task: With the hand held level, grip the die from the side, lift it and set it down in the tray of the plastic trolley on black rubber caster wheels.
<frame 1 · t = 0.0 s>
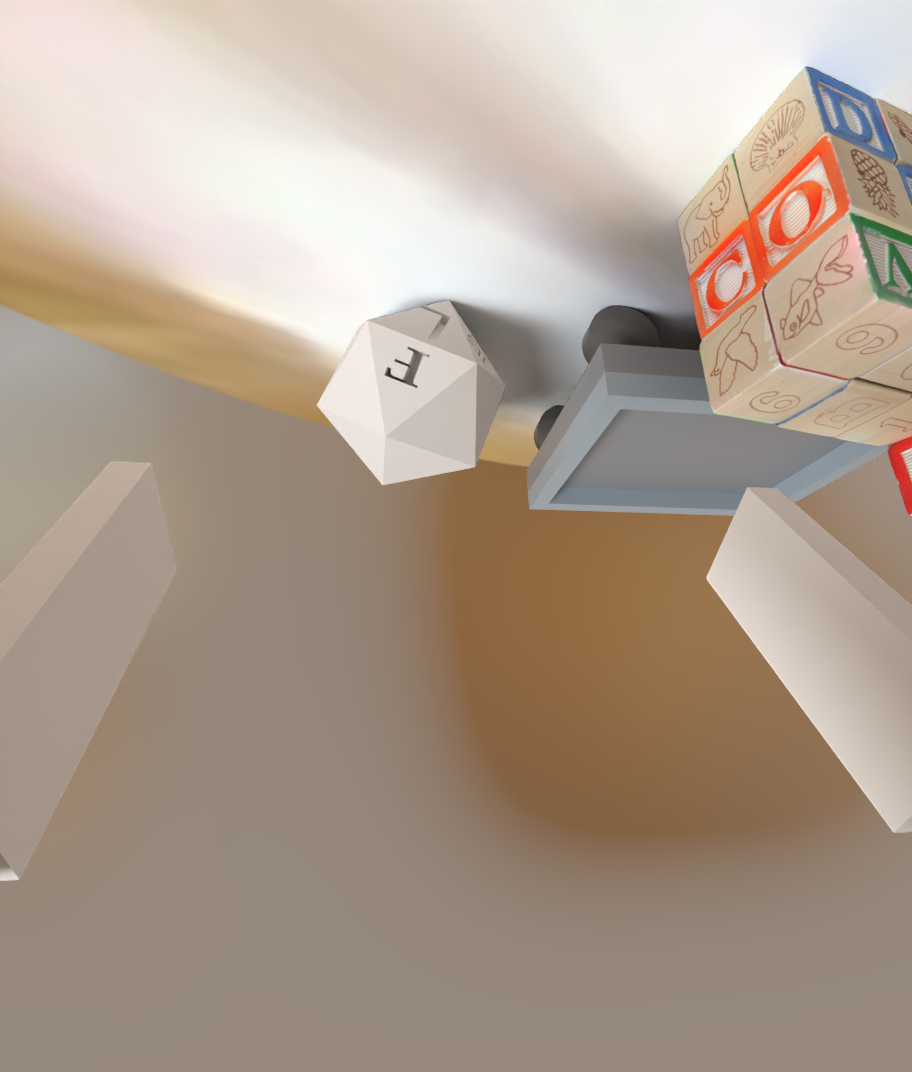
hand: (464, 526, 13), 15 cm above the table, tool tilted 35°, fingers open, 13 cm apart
trolley: (689, 376, 33), on the table
die: (414, 329, 29), on the table
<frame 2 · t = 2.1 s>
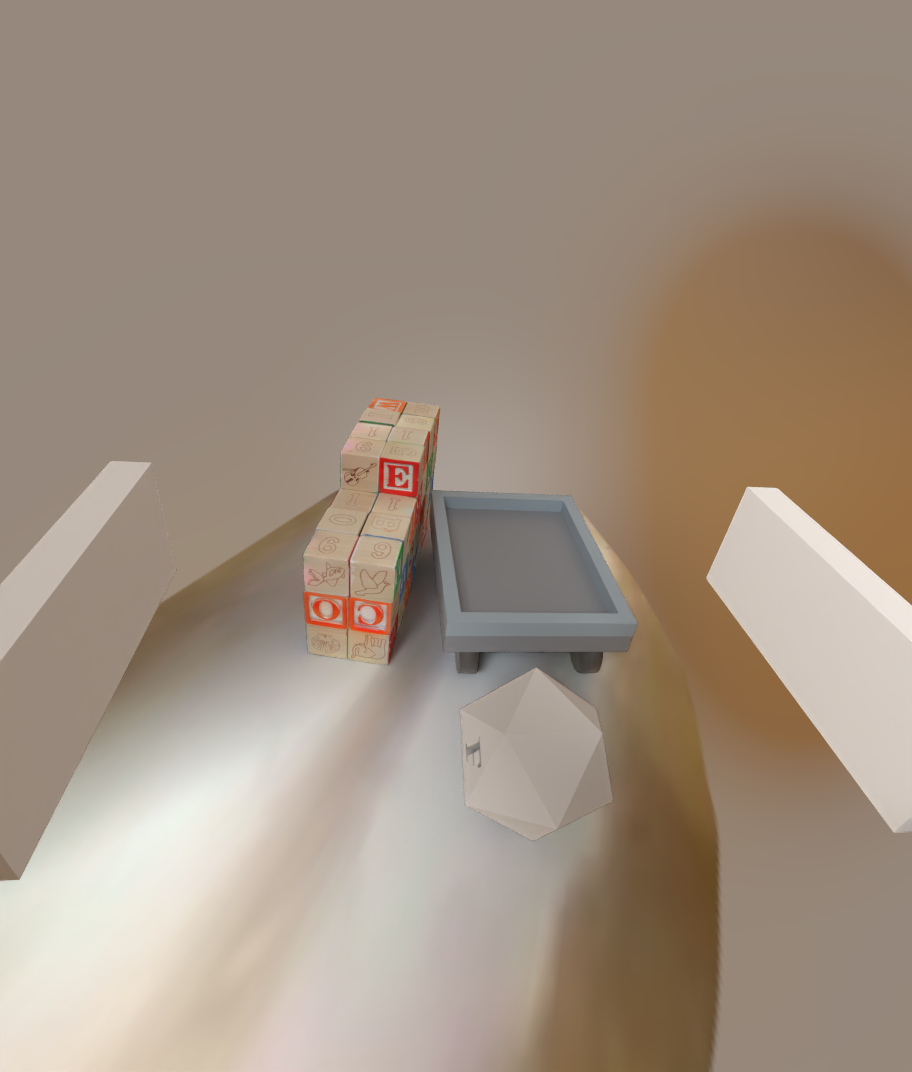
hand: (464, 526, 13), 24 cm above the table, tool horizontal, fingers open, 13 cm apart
trolley: (508, 606, 47), on the table
die: (522, 793, 33), on the table
stack of blocks: (379, 575, 49), on the table
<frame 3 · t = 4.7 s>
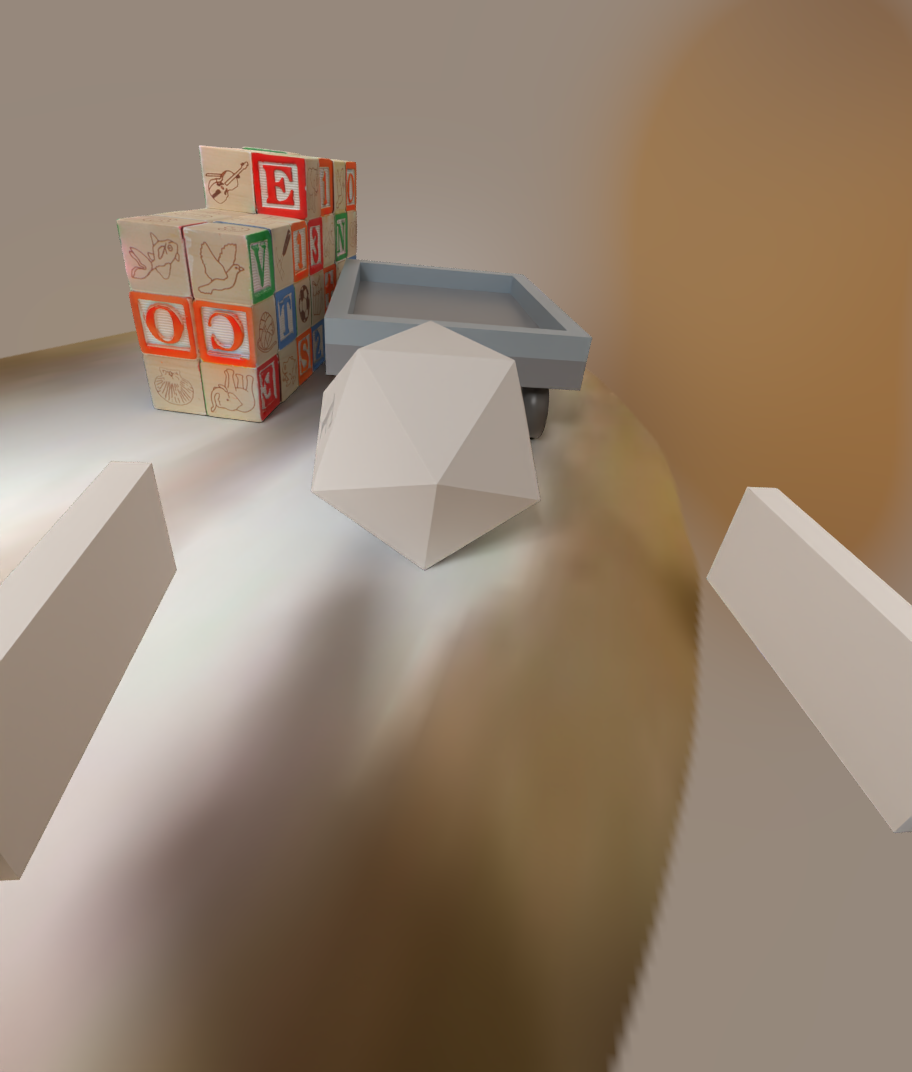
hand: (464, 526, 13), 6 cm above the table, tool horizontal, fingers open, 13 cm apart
trolley: (438, 390, 37), on the table
die: (420, 531, 23), on the table
stack of blocks: (278, 365, 39), on the table
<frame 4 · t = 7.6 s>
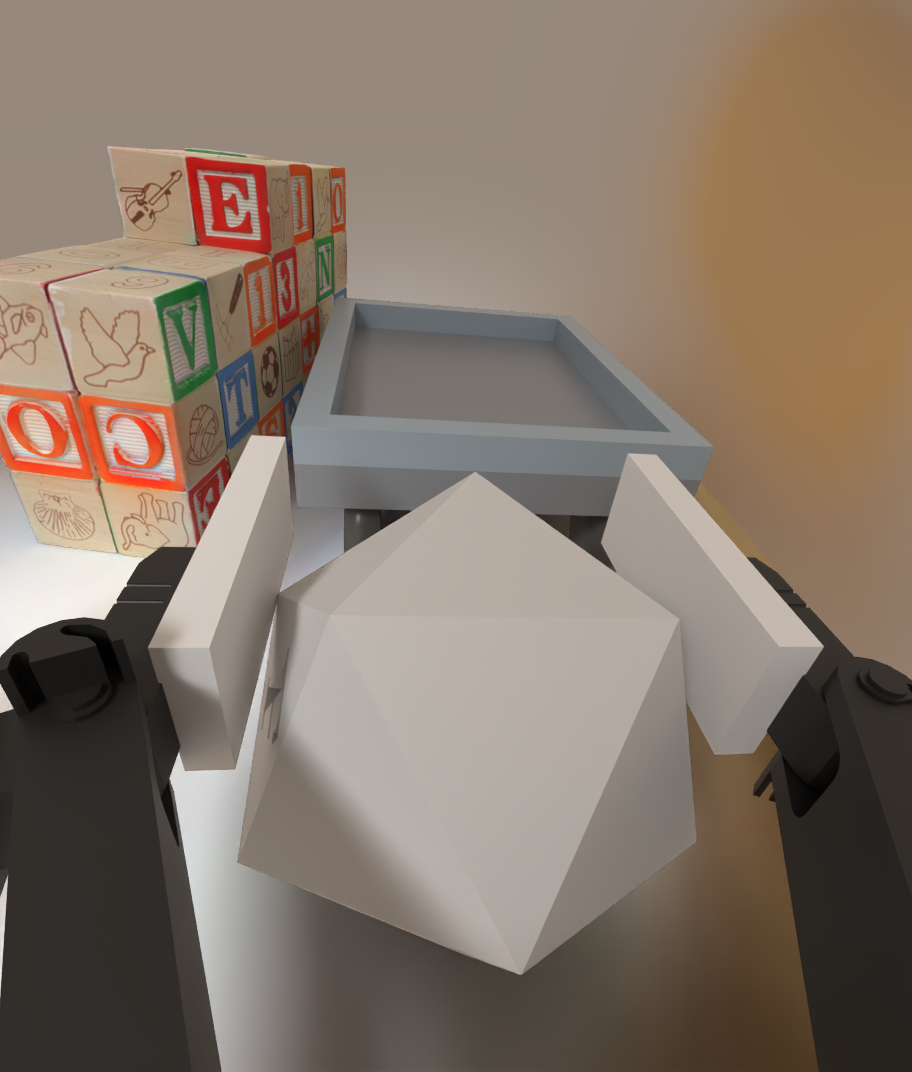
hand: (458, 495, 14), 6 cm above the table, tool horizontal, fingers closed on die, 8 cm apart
trolley: (462, 480, 27), on the table
die: (452, 815, 13), on the table, touching gripper
stack of blocks: (240, 442, 29), on the table
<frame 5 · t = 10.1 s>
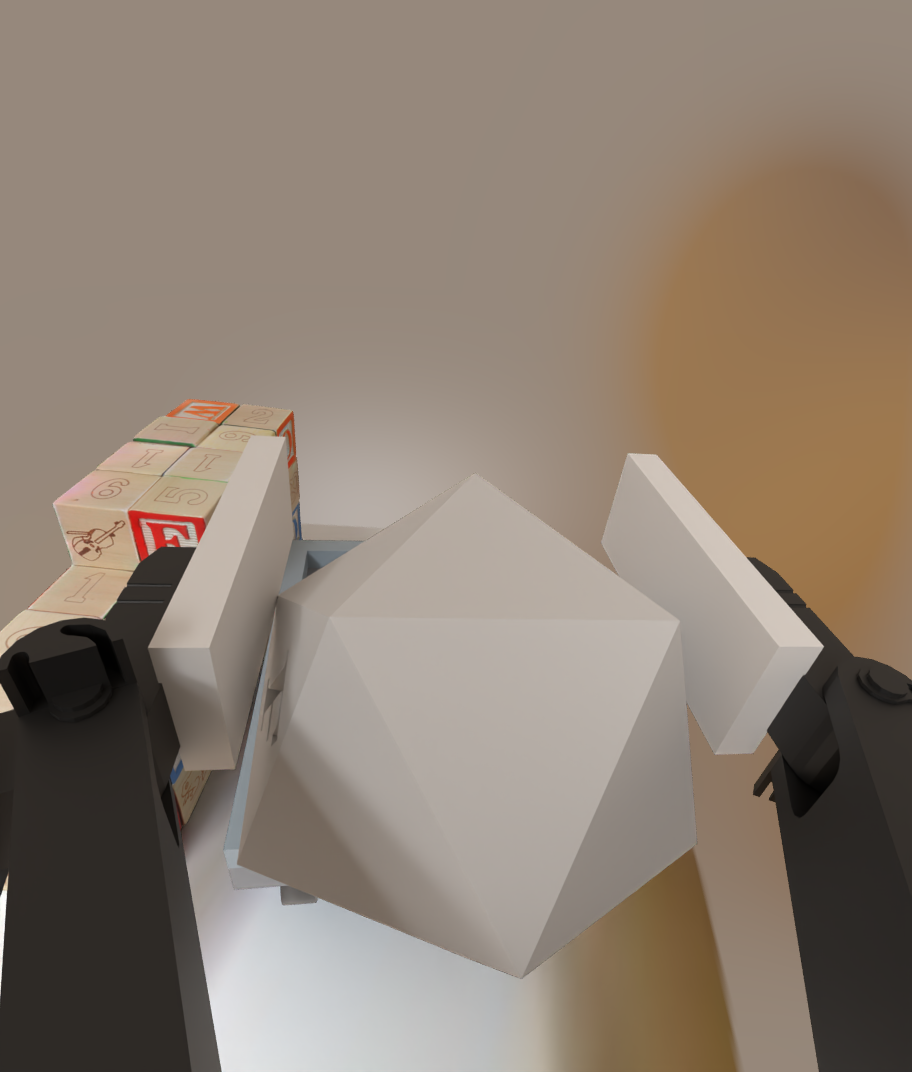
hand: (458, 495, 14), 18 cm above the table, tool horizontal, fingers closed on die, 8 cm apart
trolley: (407, 732, 29), on the table
die: (451, 817, 13), point 12 cm above the table, touching gripper
stack of blocks: (194, 688, 30), on the table
when the fingers open (12 cm above the table, at t = 12.8 s): die drops 1 cm, resting on trolley.
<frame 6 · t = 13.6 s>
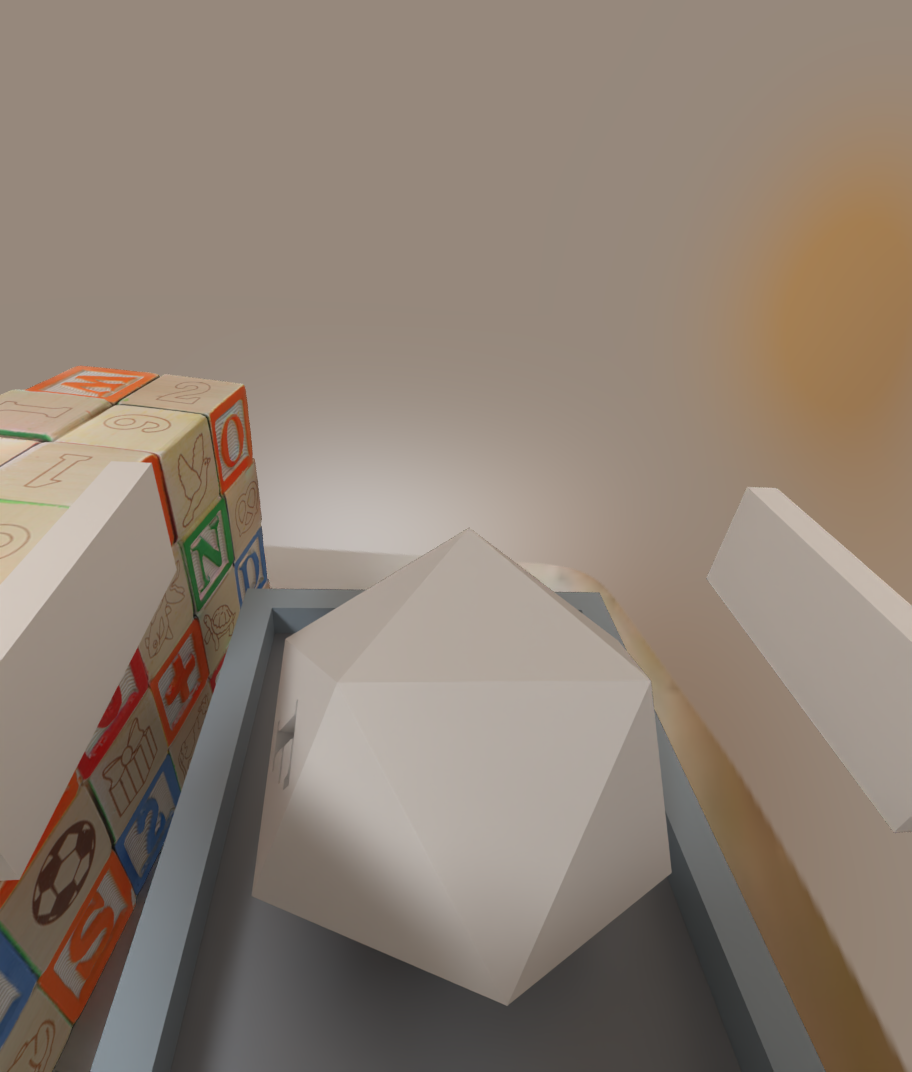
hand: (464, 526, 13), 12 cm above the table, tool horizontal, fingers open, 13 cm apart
trolley: (432, 925, 17), on the table
die: (447, 841, 14), point 5 cm above the table, touching trolley
stack of blocks: (75, 841, 18), on the table
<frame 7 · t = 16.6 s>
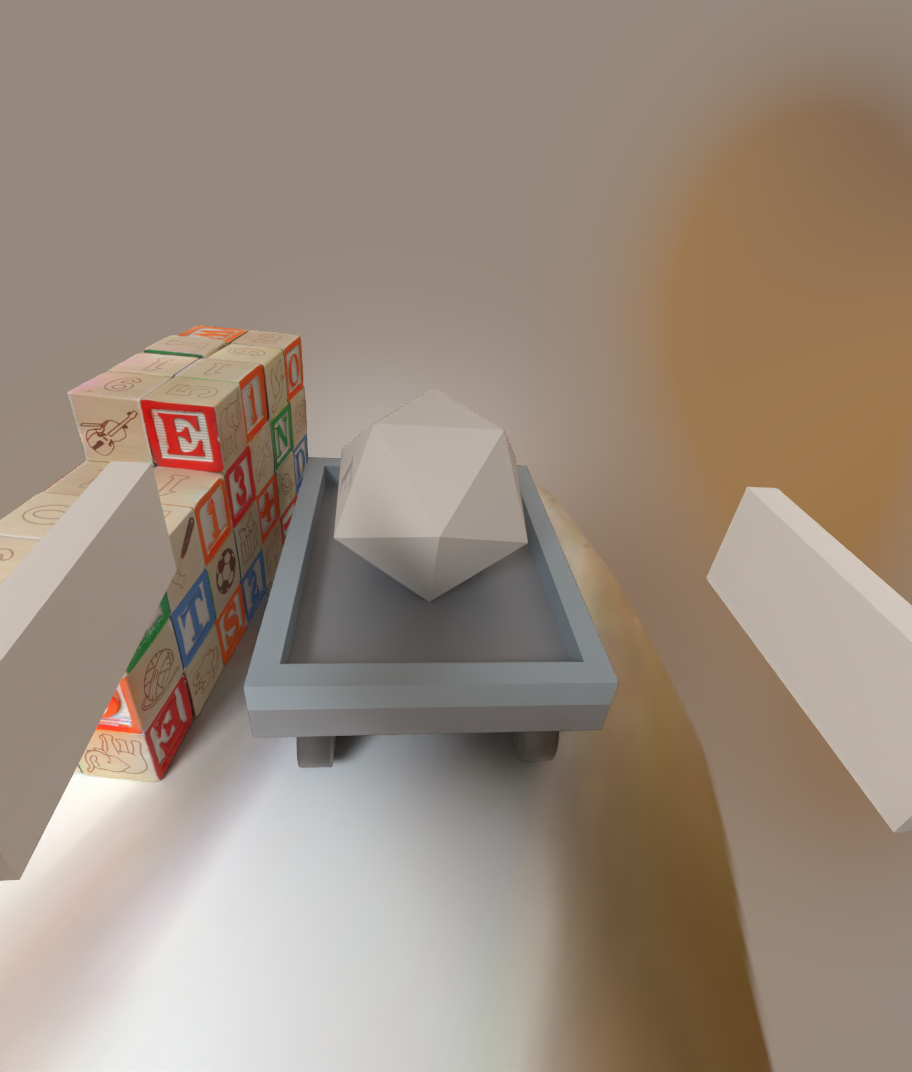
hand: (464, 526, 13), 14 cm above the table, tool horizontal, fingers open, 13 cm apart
trolley: (420, 638, 30), on the table
die: (426, 565, 27), point 5 cm above the table, touching trolley
stack of blocks: (205, 605, 31), on the table
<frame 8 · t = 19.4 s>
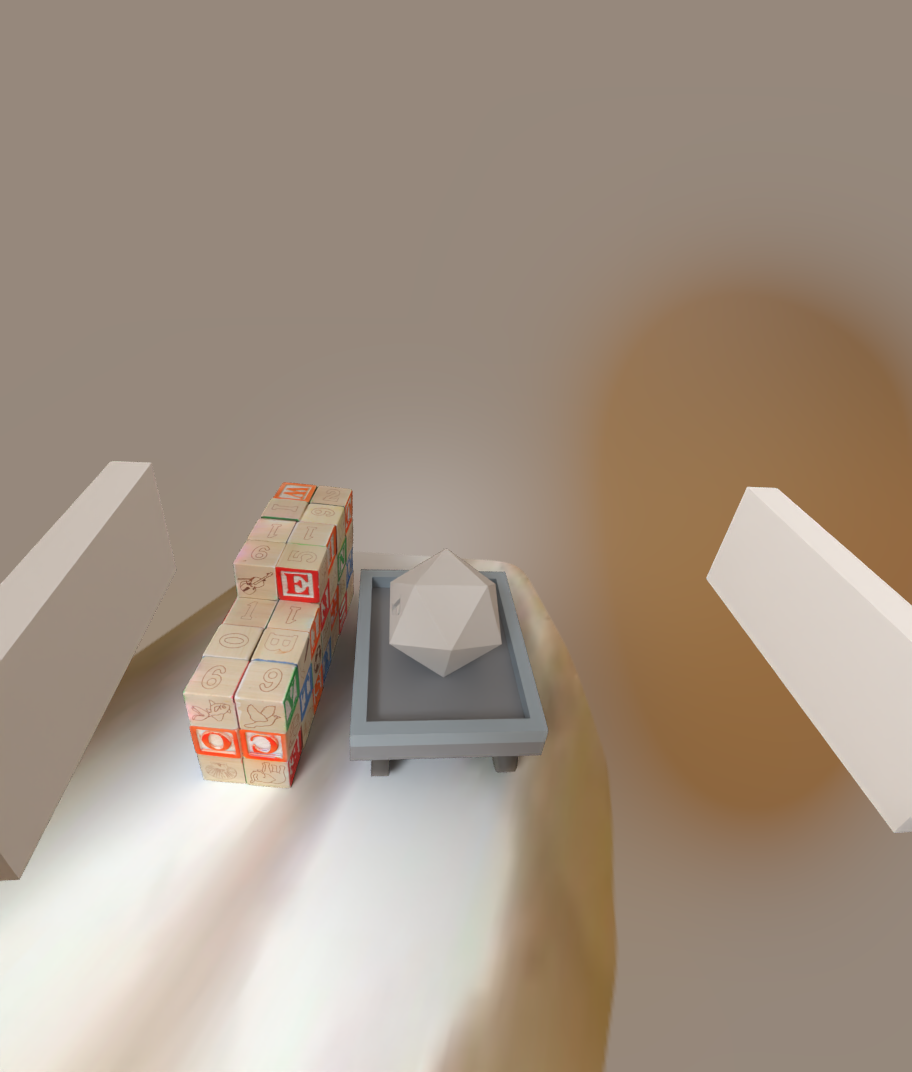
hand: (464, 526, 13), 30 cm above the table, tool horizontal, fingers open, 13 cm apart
trolley: (435, 691, 46), on the table
die: (440, 650, 44), point 5 cm above the table, touching trolley
stack of blocks: (292, 671, 47), on the table
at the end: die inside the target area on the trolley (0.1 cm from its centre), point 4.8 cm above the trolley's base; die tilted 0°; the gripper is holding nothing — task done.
